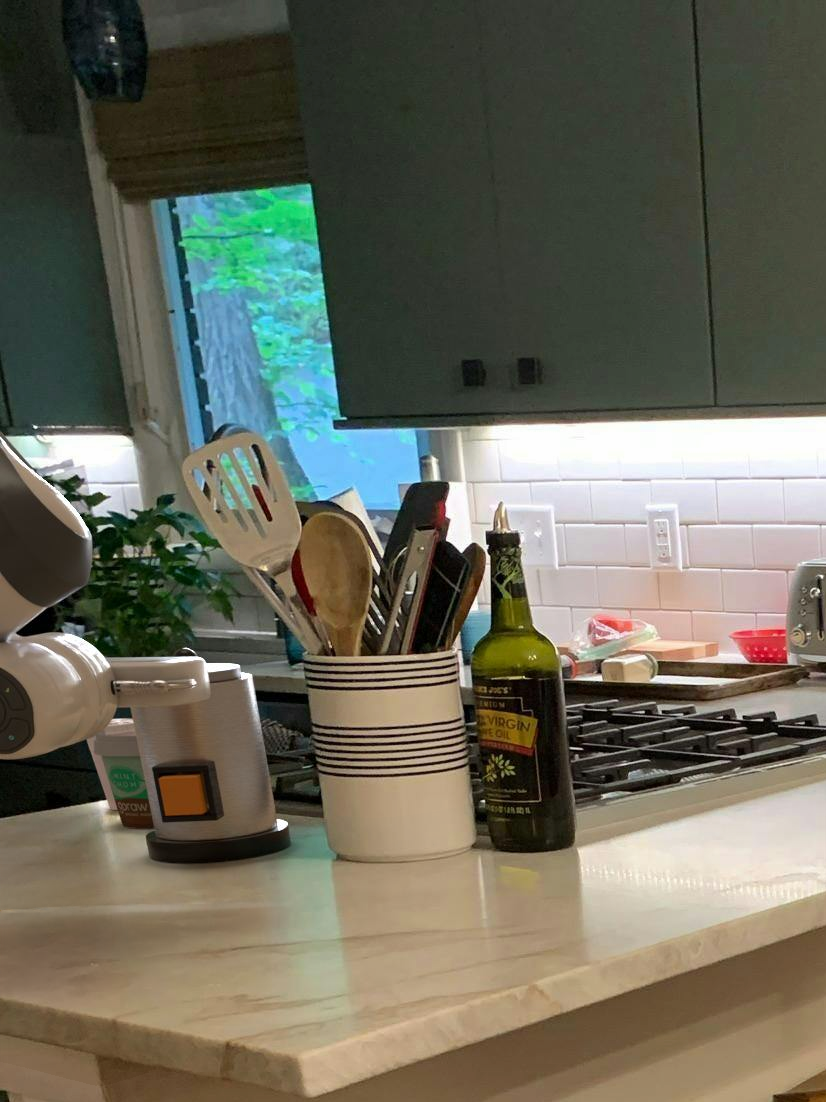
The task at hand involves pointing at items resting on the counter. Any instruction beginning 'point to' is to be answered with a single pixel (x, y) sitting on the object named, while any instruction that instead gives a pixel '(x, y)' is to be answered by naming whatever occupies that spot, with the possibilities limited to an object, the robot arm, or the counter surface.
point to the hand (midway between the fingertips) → (112, 674)
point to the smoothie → (113, 729)
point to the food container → (125, 778)
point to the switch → (183, 794)
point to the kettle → (211, 773)
